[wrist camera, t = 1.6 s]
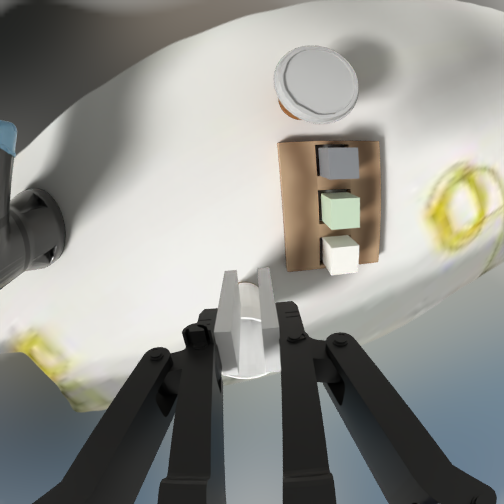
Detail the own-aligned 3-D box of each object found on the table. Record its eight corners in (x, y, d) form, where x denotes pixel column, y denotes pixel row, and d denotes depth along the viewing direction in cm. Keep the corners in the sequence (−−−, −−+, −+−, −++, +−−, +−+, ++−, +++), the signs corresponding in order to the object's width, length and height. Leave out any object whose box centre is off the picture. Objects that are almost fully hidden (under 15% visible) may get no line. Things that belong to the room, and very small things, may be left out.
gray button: (320, 176, 38) (330, 179, 33) (318, 148, 36) (328, 147, 32) (346, 174, 38) (359, 178, 33) (345, 147, 36) (357, 147, 32)
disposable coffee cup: (254, 89, 35) (256, 65, 24) (308, 60, 33) (329, 30, 22) (291, 142, 38) (308, 139, 27) (343, 112, 36) (378, 100, 25)
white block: (322, 261, 42) (331, 275, 37) (322, 236, 41) (331, 248, 36) (347, 259, 42) (358, 272, 37) (347, 234, 41) (359, 245, 36)
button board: (286, 266, 44) (287, 271, 42) (277, 143, 38) (278, 142, 36) (373, 257, 44) (378, 262, 42) (373, 141, 37) (379, 141, 36)
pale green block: (322, 220, 40) (331, 229, 35) (321, 193, 39) (330, 199, 34) (347, 218, 40) (359, 227, 35) (347, 191, 38) (359, 197, 34)
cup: (200, 290, 46) (185, 341, 33) (254, 257, 44) (256, 301, 31) (237, 333, 49) (235, 388, 36) (288, 305, 47) (301, 357, 34)
